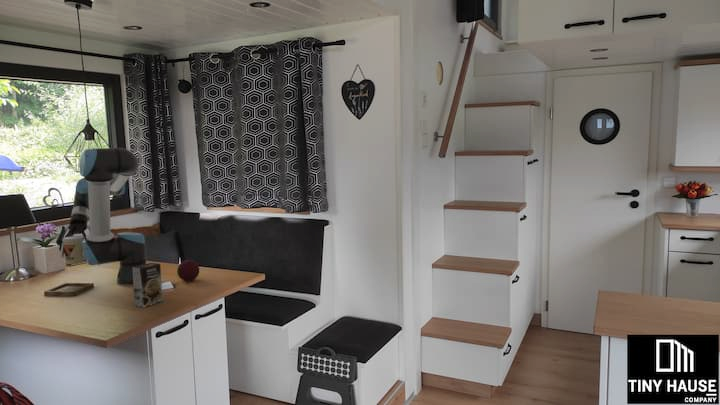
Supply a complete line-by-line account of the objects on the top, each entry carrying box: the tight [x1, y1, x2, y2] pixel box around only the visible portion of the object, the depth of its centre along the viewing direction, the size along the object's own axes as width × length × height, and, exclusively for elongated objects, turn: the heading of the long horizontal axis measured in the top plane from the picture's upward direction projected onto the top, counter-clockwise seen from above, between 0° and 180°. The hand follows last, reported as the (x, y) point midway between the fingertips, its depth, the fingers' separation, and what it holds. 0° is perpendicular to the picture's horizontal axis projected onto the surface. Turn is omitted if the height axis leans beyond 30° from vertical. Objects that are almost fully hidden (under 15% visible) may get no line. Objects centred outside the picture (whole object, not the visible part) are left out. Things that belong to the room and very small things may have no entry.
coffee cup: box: [62, 235, 86, 265], centre depth 253 cm, size 9×9×12 cm
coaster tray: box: [43, 282, 95, 297], centre depth 240 cm, size 14×14×2 cm
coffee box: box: [132, 262, 164, 308], centre depth 218 cm, size 9×6×16 cm
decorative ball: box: [176, 259, 200, 282], centre depth 253 cm, size 10×10×10 cm
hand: (72, 255), depth 250 cm, fingers closed on coffee cup, 9 cm apart
